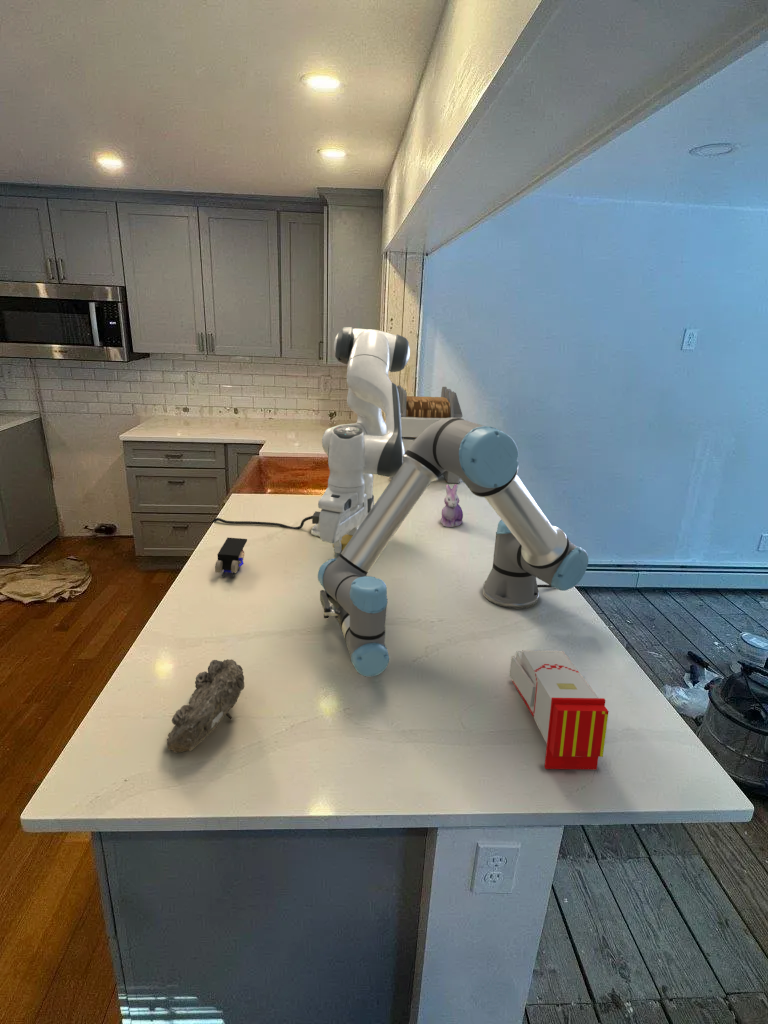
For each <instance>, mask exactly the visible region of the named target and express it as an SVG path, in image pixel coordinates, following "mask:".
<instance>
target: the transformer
mask: <svg viewBox="0 0 768 1024" xmlns="http://www.w3.org/2000/svg"><path fill="white" fill-rule="evenodd" d="M396 386H397V389H398V393H399V402H400V412H401V428H402V432H401V433H402V441H403V445H404V449H405V452H406V451H407V449H408V448H409V447H410V445H411V444H412V443H413V441H414V440H415V439H416V438H417V437H418V436H419V435H420V434H421V433H422V432H423V431H424V430H425V429H426V428H427V427H429V426H430V425H432V424H433V423H435V422H437V421H439V420H441V419H444V418H450V417H455V418H461V419H463V411H462V408H461V405H460V402H459V398H458V395H457V392H455V391H453V390H452V389H451V388H447V386H442V387H441V392H440V393H441V394H440V396H415V395H414V396H413V395H412V396H411V395H407V394H408V393H407V390H406V389H404V388H403V387H402V385H399V384H398V385H396ZM441 475H443V478H444V479H445V481H446V482H447V483H449V484H459V483H461V478H460V477H459V476H457V475H456V474H453V473H451V472H449V471H444V472H443V473H442V474H441ZM394 476H395V475H394ZM394 476H393V477H394ZM393 477H388V478H389V480H390V481H391V480H392V479H393Z"/></svg>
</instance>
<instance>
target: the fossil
mask: <svg viewBox="0 0 768 1024" xmlns="http://www.w3.org/2000/svg"><path fill="white" fill-rule="evenodd" d="M243 670H244V669H243V667H242V665H240V664H237V662H236V661H235V660H234V659H232V658H231V659H227V658H226V659H224V660H223V661H222V660H217V659H212V660H211V661H210V663H209V665H208V666H207V671H201V672H199V673H198V674H197V675H196V676H195V680H194V684H195V685H194V687H195V689H194V690H193V693H192V694H191V697H190V698H189V700H188V704H184V705H182V706H181V707H180V709H177V710H176V711H175V713H174V715H173V716H172V718H171V723H172V724H173V727H172V730H171V731H170V732H168V734H167V738H166V741H167V742H166V745H167V749H168V750H169V751H173V752H174V753H176V754H178V753H182V752H188V751H189V752H192V751H193V750H195V748H196V747H197V746H199V744H200V743H201V742H203V741H204V740H205V739H206V738H207V737H208V736H209V735H210V734H211V733H212V732H214V730H215V729H217V727H218V726H219V724H220V722H221V721H222V720H223V719H224V718H225V716H226V717H227V719H229V720H233V717H232V715H230V714H229V710H230V709H231V708H234V706H235V704H236V703H237V702H238V699H239V697H240V695H241V693H242V691H243V690H245V689H244V688H245V675H244V671H243Z"/></svg>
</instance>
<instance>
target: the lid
mask: <svg viewBox="0 0 768 1024" xmlns="http://www.w3.org/2000/svg"><path fill="white" fill-rule="evenodd" d="M351 538H352V535H346V534H345V535H344V536H343V537H342V540H341V545H343V549H344V548H345V547H346V545H347V544H348V542H349V541H350V539H351ZM332 548H333V549H334V545H333V544H332Z"/></svg>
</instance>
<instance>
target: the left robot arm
mask: <svg viewBox="0 0 768 1024" xmlns="http://www.w3.org/2000/svg"><path fill="white" fill-rule="evenodd" d="M409 343H410V342H409V341H408V339H407V337H404V336H403V335H400V334H393V333H390V332H386V331H384V330H379V329H368V328H354V327H353V326H344V327H342V328H341V329H339V330H338V333H337V334H336V335H335V337H334V341H333V351H334V358H335V359H336V361H337V362H339V363H340V364H341V363H342V364H343V365H347V369H346V385H347V386H348V388H347V395H346V396H347V397H346V405H347V407H348V408H349V410H350V411H351V412H353V413H354V414H356V416H357V418H356V422H354V423H353V422H352V423H344V424H343V423H342V424H337V425H335V426H332V427H329V428H327V429H325V431H324V432H323V435H322V437H321V447H322V450H323V452H324V453H325V455H326V456H327V462H328V463H327V466H328V469H329V474H328V479H327V487H326V489H325V490H324V493H323V494H322V495H321V497H320V498H319V500H318V503H317V506H318V509H320V511H314V512H313V514H312V515H310V516H307V517H305V518H303V519H302V520H301V522H300V525H299V526H290V525H287V524H285V523H284V524H283V523H279V522H268V521H251V520H249V521H248V520H239V521H238V520H226V519H223V518H221V517H215V518H213V519H212V520H211V523H215V522H221V523H224V524H226V525H227V524H228V525H260V526H261V525H262V526H275V527H281V528H284V529H291V530H301V529H302V528H303V527H304V524H305V522H307V521H310V520H311V524H312V525H313V526H312V528H311V530H310V533H311V536H315V537H319V538H320V540H321V542H325V543H328V544H329V543H330V544H332V546H333V545H334V548H333V553H334V552H336V553H340V552H342V551H343V545H341V540H342V537H343V536H344V535H345V534H346V535H352V536H353V535H354V534H355V532H356V531H357V529H358V528H359V526H360V525H361V523H362V522H363V521H364V519H365V518H366V516H367V515H368V513H369V512H370V510H371V509H372V508H373V506H374V505H375V496H374V475H377V476H381V477H388V478H389V477H393V476H394V475H395V474H396V473H397V471H398V470H399V468H400V467H401V466H402V464H403V455H404V454H405V449H404V445H403V441H402V433H401V432H402V428H401V412H400V402H399V393H398V389H397V386H398V385H397V384H396V383H394V382H393V381H392V380H391V379H390V377H389V372H390V373H397V372H401V371H402V370H404V369H405V367H406V366H407V364H408V362H409V360H410V355H411V347H410V345H409ZM382 411H383V412H382ZM382 413H384V414H385V420H384V417H383V414H382Z"/></svg>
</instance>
